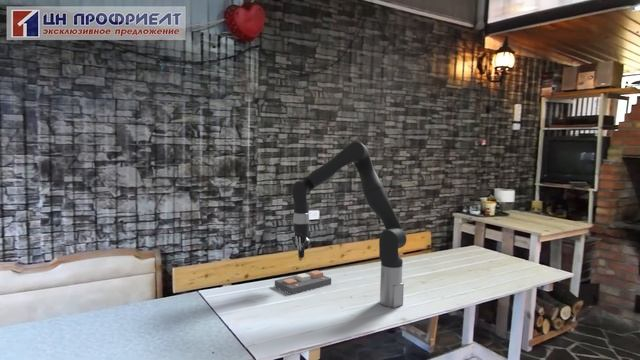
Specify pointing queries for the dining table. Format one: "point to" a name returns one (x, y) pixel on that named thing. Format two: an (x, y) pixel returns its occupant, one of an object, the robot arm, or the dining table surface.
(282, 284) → the keypad
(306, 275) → the key middle
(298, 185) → the robot arm
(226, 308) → the dining table surface
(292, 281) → the key left
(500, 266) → the dining table surface
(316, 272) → the key right
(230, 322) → the dining table surface
